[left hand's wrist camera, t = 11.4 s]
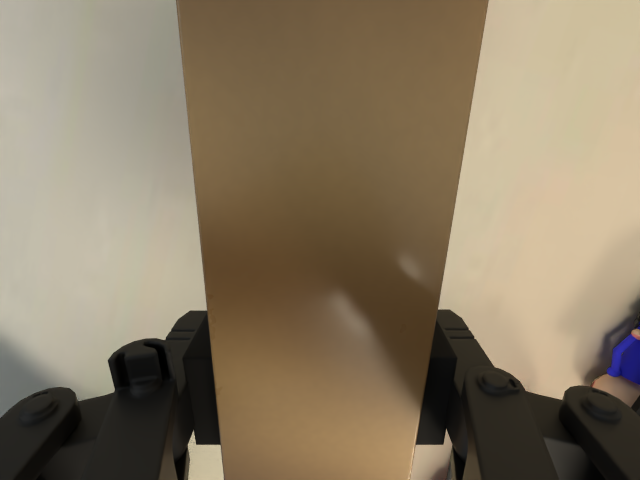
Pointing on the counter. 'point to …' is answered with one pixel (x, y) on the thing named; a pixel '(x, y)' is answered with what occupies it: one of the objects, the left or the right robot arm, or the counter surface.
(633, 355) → the figurine character
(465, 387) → the left robot arm
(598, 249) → the counter surface
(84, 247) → the counter surface
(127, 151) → the counter surface
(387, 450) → the beam
